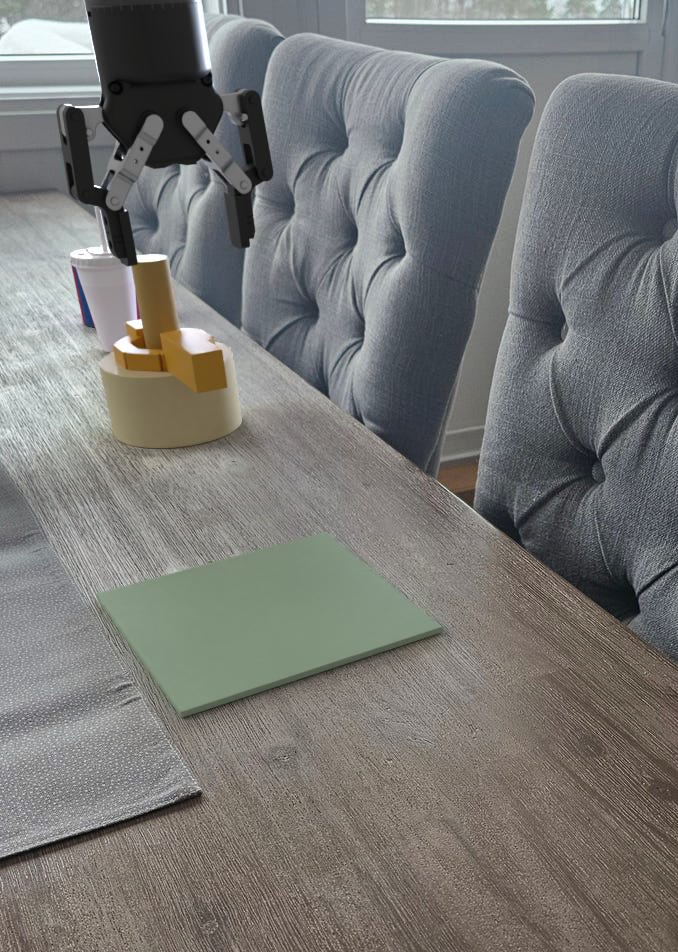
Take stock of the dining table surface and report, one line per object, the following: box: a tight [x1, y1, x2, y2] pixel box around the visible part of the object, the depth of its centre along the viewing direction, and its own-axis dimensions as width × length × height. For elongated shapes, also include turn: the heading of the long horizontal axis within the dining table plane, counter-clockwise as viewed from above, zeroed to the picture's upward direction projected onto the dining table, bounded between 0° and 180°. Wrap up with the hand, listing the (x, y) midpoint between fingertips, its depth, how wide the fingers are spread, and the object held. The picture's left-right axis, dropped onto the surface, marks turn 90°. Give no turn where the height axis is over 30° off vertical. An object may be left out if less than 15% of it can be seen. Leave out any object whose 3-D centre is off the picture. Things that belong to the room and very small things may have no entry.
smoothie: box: [69, 205, 137, 353], centre depth 115 cm, size 6×6×14 cm
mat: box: [95, 531, 443, 719], centre depth 69 cm, size 16×16×1 cm
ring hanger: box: [113, 319, 228, 394], centre depth 92 cm, size 16×8×3 cm, turn 32°
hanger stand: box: [98, 253, 243, 449], centre depth 94 cm, size 11×11×14 cm
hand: (186, 255), depth 82 cm, fingers open, 8 cm apart
